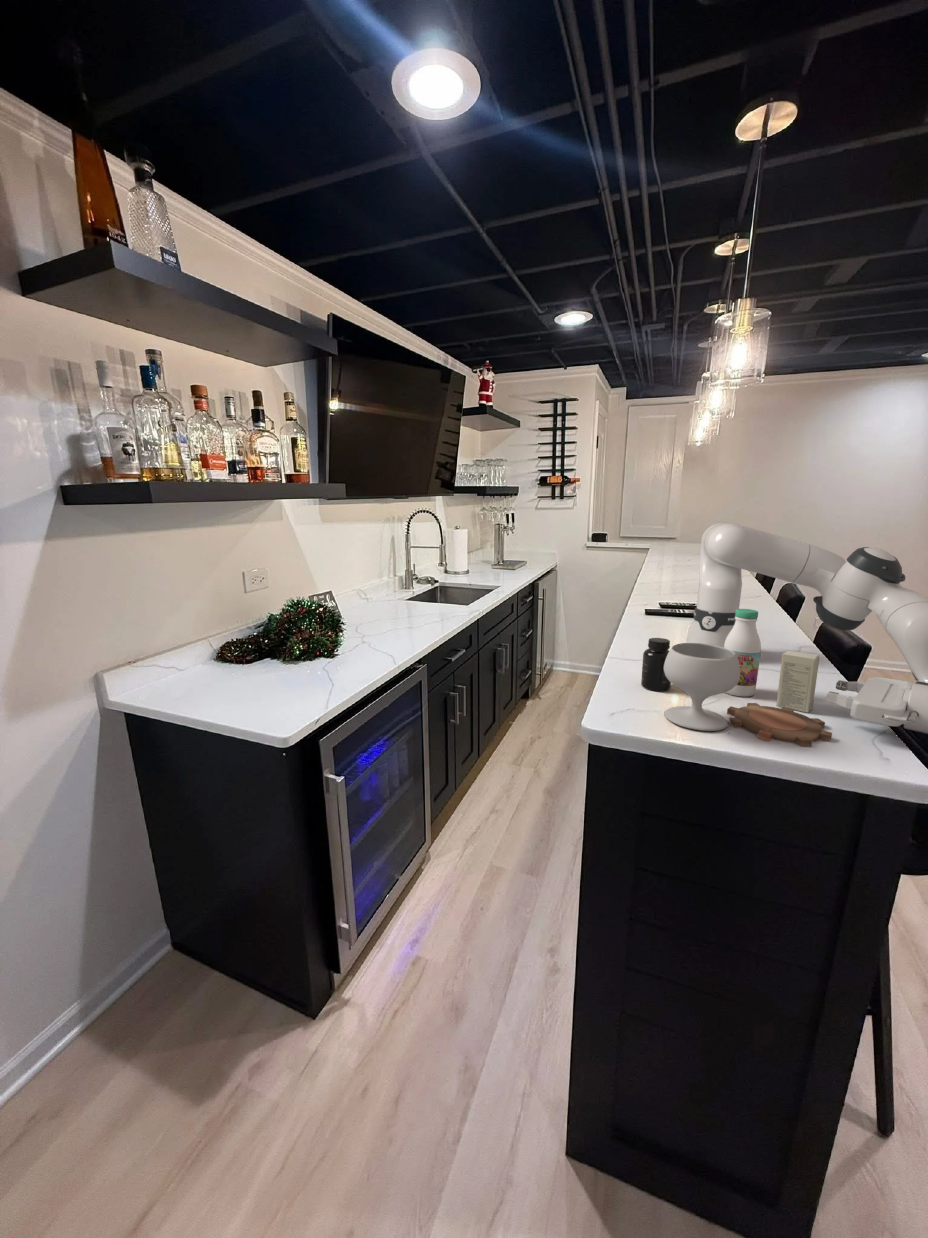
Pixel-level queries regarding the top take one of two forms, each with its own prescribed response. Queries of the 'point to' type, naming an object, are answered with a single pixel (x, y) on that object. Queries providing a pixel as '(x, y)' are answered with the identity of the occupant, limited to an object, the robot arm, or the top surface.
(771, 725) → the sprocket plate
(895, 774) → the top surface
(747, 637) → the milk bottle
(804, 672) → the skincare box
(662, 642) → the supplement bottle
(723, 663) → the chalice
